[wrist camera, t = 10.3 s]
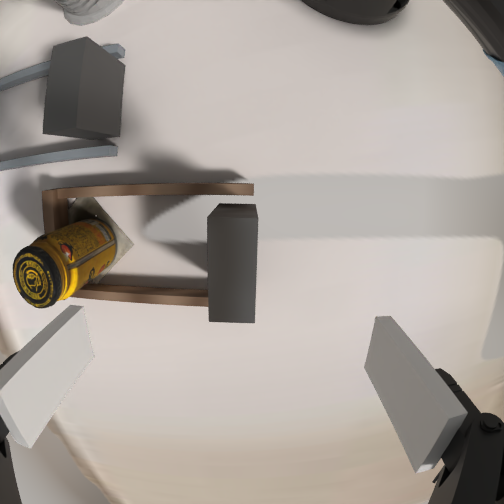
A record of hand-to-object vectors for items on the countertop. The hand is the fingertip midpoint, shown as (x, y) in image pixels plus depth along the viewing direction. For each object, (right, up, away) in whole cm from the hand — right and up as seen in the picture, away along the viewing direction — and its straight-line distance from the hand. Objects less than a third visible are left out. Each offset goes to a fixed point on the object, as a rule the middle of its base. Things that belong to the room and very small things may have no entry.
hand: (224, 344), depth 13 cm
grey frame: (-23, +20, +14) cm, 34 cm away
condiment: (-17, +6, +19) cm, 26 cm away
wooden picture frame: (-10, +5, +18) cm, 21 cm away
